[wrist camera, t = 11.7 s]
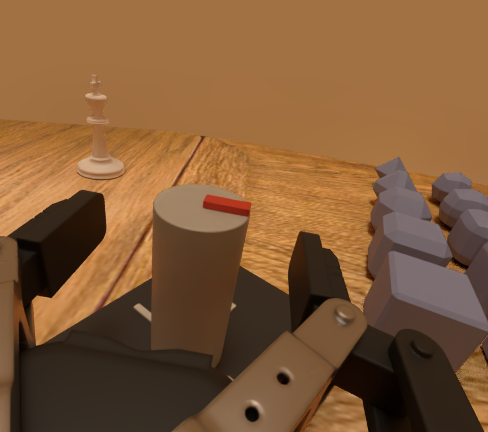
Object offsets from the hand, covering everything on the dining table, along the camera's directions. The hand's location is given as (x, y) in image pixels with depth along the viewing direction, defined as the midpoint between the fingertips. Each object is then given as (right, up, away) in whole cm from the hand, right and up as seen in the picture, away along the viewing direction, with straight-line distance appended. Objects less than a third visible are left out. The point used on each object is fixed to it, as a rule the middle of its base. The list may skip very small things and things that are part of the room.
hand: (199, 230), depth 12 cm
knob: (-1, -6, +2) cm, 6 cm away
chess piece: (-14, +6, +22) cm, 27 cm away
